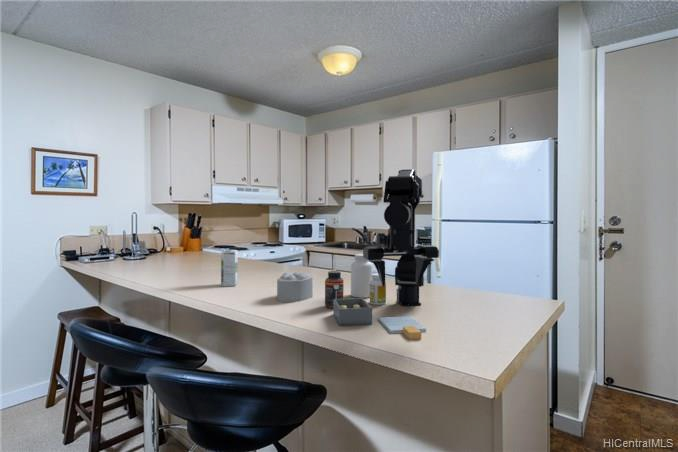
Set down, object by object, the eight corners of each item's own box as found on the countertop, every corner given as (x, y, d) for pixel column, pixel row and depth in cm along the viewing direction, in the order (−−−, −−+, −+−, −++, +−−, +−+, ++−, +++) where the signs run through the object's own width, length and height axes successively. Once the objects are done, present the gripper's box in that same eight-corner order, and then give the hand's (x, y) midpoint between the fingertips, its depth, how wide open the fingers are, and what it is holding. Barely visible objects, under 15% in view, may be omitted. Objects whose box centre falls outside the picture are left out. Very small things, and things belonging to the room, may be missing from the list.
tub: (362, 312, 107) (363, 298, 107) (372, 324, 96) (372, 307, 96) (333, 314, 106) (333, 299, 106) (339, 326, 95) (339, 309, 95)
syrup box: (223, 283, 150) (223, 249, 150) (238, 283, 151) (237, 249, 150) (220, 286, 145) (220, 251, 144) (235, 286, 145) (235, 251, 145)
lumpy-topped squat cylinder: (316, 296, 128) (316, 272, 128) (291, 304, 118) (291, 278, 117) (295, 292, 134) (295, 269, 134) (269, 299, 124) (269, 274, 123)
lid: (410, 318, 102) (410, 313, 102) (433, 337, 86) (433, 331, 86) (378, 320, 100) (378, 314, 100) (396, 340, 85) (396, 333, 85)
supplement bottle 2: (387, 301, 120) (387, 273, 120) (384, 305, 115) (384, 276, 115) (371, 300, 122) (371, 272, 122) (367, 304, 117) (368, 275, 117)
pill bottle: (376, 294, 130) (376, 254, 130) (366, 299, 124) (366, 256, 123) (357, 292, 135) (357, 252, 134) (346, 296, 128) (346, 255, 127)
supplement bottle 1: (341, 309, 111) (341, 273, 110) (323, 308, 112) (322, 272, 112) (345, 304, 117) (345, 270, 116) (327, 303, 118) (327, 269, 117)
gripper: (422, 223, 101) (421, 277, 102) (358, 224, 97) (358, 280, 98) (440, 225, 90) (439, 286, 91) (368, 226, 86) (368, 289, 87)
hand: (400, 285), depth 92 cm, fingers open, 9 cm apart
